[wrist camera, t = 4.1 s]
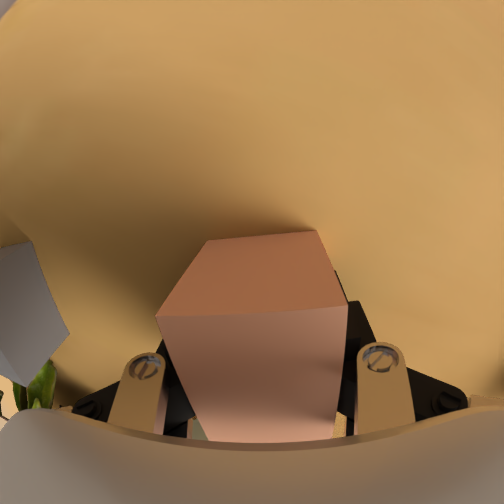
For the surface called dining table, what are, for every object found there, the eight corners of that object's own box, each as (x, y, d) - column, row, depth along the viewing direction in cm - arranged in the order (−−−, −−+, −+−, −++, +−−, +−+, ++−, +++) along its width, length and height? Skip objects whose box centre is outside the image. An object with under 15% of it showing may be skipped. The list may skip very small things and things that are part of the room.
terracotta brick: (318, 355, 12) (329, 448, 7) (233, 360, 12) (213, 449, 8) (316, 229, 10) (347, 305, 5) (207, 239, 10) (154, 315, 6)
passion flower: (152, 378, 23) (180, 507, 15) (64, 385, 23) (82, 494, 15) (57, 339, 12) (96, 552, 5) (-23, 351, 12) (-8, 499, 5)
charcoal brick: (70, 332, 13) (26, 387, 9) (35, 327, 14) (-5, 371, 9) (32, 240, 11) (-33, 283, 6) (1, 247, 11) (-52, 283, 7)
